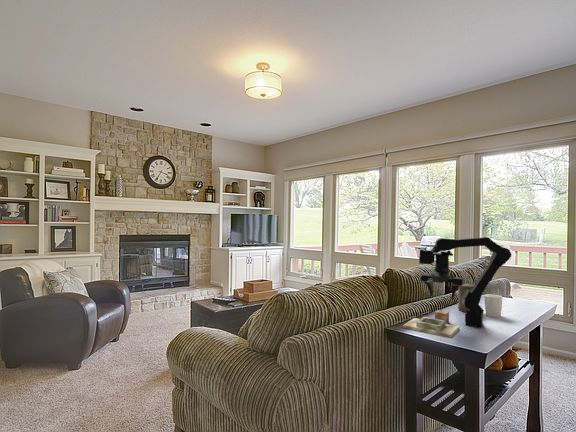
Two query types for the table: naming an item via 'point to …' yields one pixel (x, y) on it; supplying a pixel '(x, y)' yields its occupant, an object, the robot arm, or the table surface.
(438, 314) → the terracotta cube
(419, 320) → the socket board
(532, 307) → the table surface
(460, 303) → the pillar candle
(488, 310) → the white cup
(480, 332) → the table surface
